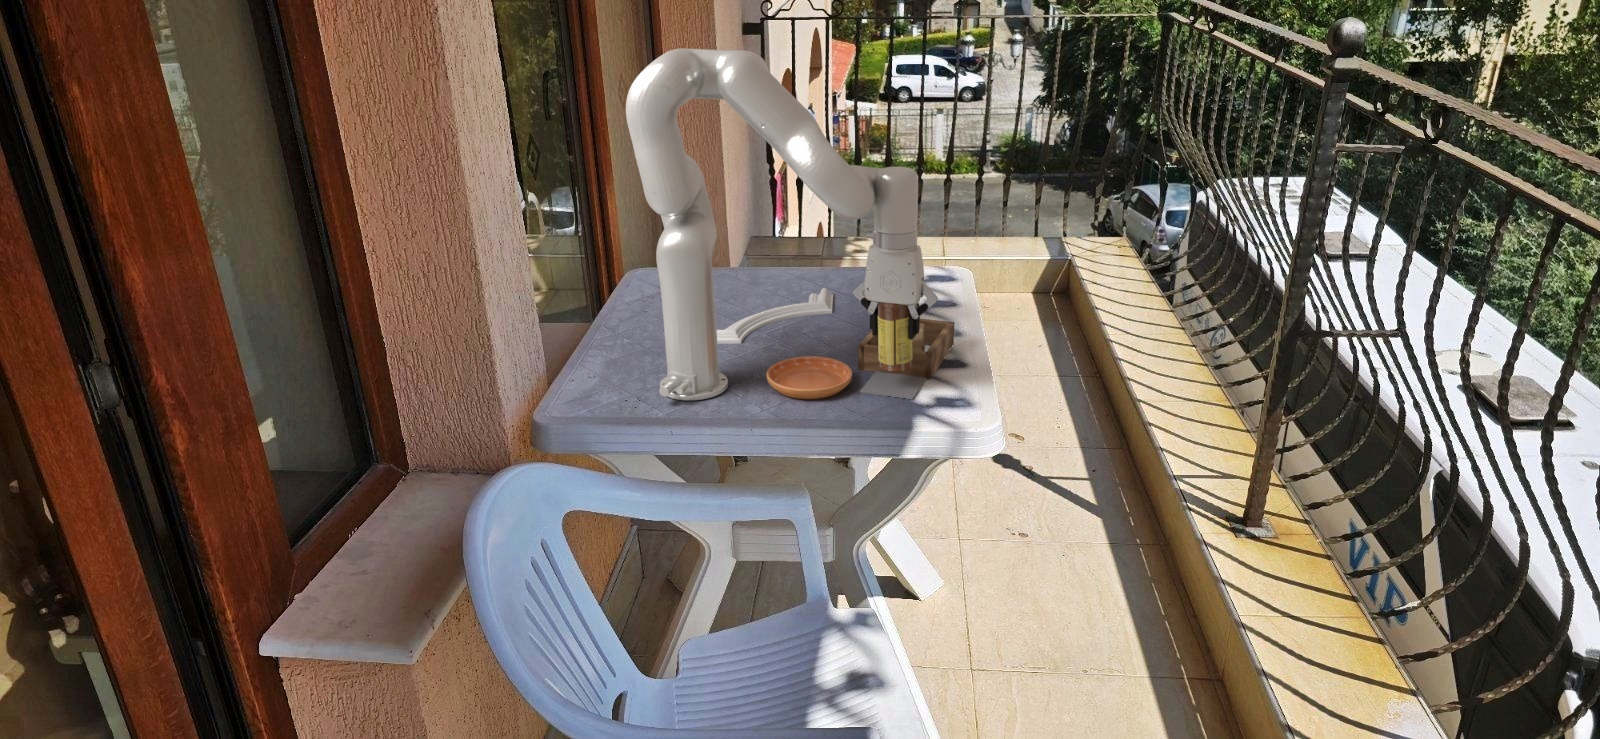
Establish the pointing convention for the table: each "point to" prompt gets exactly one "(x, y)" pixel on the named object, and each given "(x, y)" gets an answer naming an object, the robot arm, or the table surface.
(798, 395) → the saucer
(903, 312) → the sauce bottle
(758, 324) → the molding
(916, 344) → the offcut upper
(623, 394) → the table surface
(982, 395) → the table surface
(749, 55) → the robot arm
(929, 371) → the rack
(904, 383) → the mat
